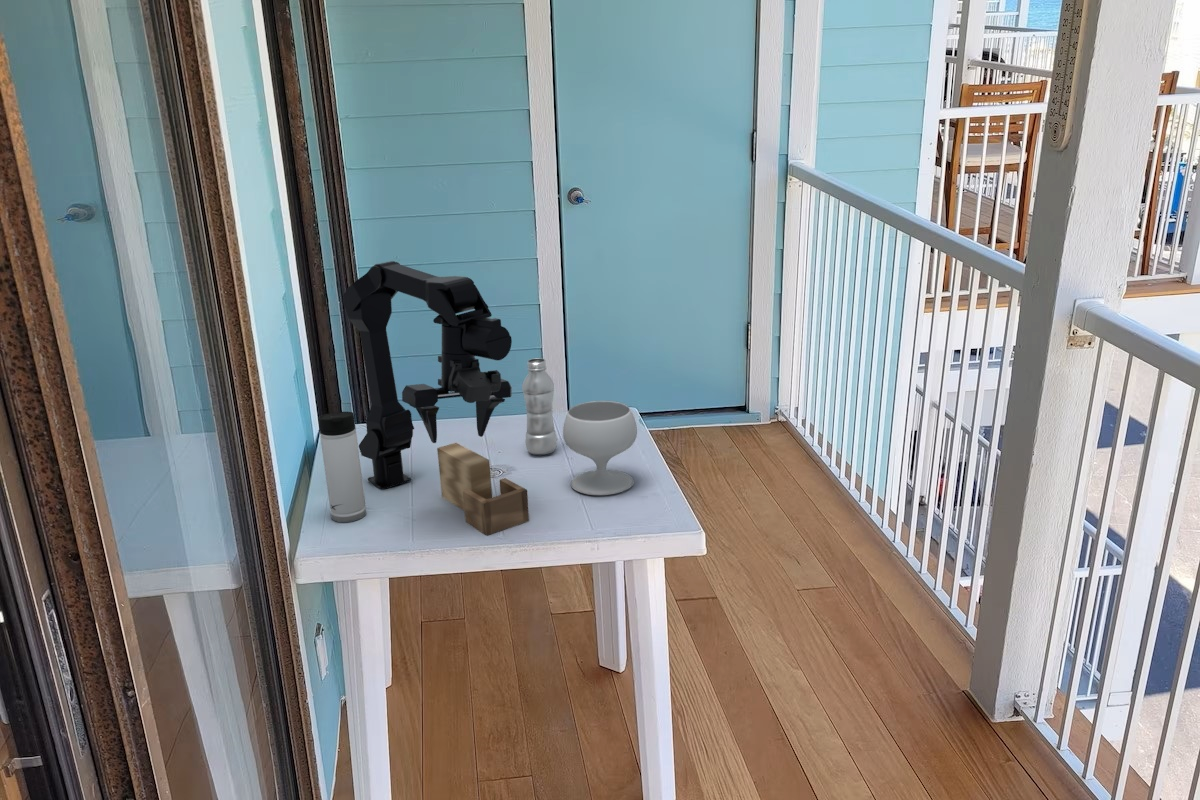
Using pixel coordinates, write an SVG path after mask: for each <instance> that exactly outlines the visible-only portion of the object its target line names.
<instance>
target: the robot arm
mask: <svg viewBox="0 0 1200 800" xmlns="http://www.w3.org/2000/svg"><path fill="white" fill-rule="evenodd" d="M398 292H400V293H402V294H404V295H408V296H411V297H414V298H417V299H419V300H422V301H424V302H425V303H426V306H427V308H428V309H430V310H432V311H433V312H434V313H436V314H438V315H437V316H435V318H433V320H432V321H433V323H434V324H439V325H441V355H438V356H437V362H439V363H441V366H440V367H441V370H440V371H441V375H440V376H441V377H440V378H438V379H437V385H438V386H440V387H433V386H430V385H427V384H425V383H418V384H409V385H405V387H404V388H403V390H402V392H401V402H403V403H405V404H407V405H409V406H410V407H412V408H414V409H416V411H417V413H418V415H419V417H420V418H421V420H422V423H423V425H424V427H425V429H426V433H427V434H428V437H429V439H430V442H431V443H432V444H436V443H437V440H438V439H437V438H438V428H437V414H438V411H439V410H440V407H439V406H437V405H436V404H437V403H438V401H439V400H441V399H449V398H458V397H461V398H462V400H463V401H464V402H466V403H469V404H472V403H473V404H474V403H475V411H476V413H475V414H476V415H475V417H476V429H477V436H478V437H484V435H485V431H486V429H487V427H488V424H489V423H490V422H489V421H490V419H491V416H492V415H493V412H494V410H495V409H496V407H497V406H498V405H499V404H501V403H504V402H505V401H506V399H507V398H511V397H512V393H513V392H512V391H513V390H512V389H513V388H512V386H511V383H510V381H509V380H507V379H506V380H505V379H503V378H502V374H501V373H500V372H499V370H497V369H496V370H488V371H481V368H480V362H479V358H484V359H488V360H493V361H502V360H503V359H505V358H506V357H507V356H508V355H509V353H510V351H511V348H512V342H513V341H512V336H511V335H510V332H509V330H508V329H507V328H506V327H504V326H502V319H500V318H496V317H494V318H491V317H492V312H491V310H490V309H489V305H488V304H487V303H486V301H485V300H484V298H483V297H482V295H481V293H480V291H479V289H478V288H477V285H475V282H474V280H473V279H472V278H470V277H468V276H461V275H459V276H457V275H453V276H450V275H449V276H437V275H433V274H430V273H428V272H425V271H421V270H419V269H416V268H412V267H408V266H407V265H403V264H400V263H399V262H398V261H394V260H390V261H385V262H380V263H376V264H374V265H372V266H371V267H370V268H369V270H368V271H367V272H366V273H365V274H363V275H362V276H361V277H359V278H358V279H356V280H355V281H354V282H353V283H352V284H351V285H350V286H347V288H346V290H345V291H344V292H343V296H342V297H343V299H342V302H343V305H344V308H345V312H346V315H347V318H348V321H350V322H351V324H352V325H353V326H354V327H355V328H356V329H357V331H358V333H359V338H360V342H361V349H362V355H363V356H362V357H363V360H364V361H363V362H364V366H365V372H366V378H367V384H368V390H369V395H370V402H371V406H370V410H369V413H368V415H367V417H366V419H365V422H366V423H365V424H366V434H365V436H364V437H363V438H362V440H361V441H360V443H358V449H359V451H360V452H359V453H360V456H361V457H364V458H366V459H370V460H371V462H372V463H371V464H372V469H373V470H372V471H373V475H372V476H369V477H367V481H368V482H369V483H371V484H373V485H374V486H375V487H377V488H379V489H380V490H385V489H387V488H392V487H394V486H395V487H396V486H399V485H401V484H405V483H408V482H411V480H412V479H411V477H410V476H409V475H406V474H405V473H404V466H403V458H402V451H405V450H406V449H410V448H411V446H412V438H413V436H414V430H415V427H414V424H413V420H412V419H413V418H412V412H411V410H410V409H405V407H404V406H403V405H402V404H401V402H400V401H399V399H398V392H397V386H396V385H397V384H396V380H395V375H394V374H395V373H394V368H393V363H392V362H393V361H392V356H391V350H390V343H389V339H388V338H389V337H388V332H387V328H388V327H387V326H388V324H389V321H390V319H391V316H392V313H393V308H392V305H393V304H392V299H393V298H394V297H395V296H396V294H398ZM476 357H479V358H476ZM505 398H506V399H505Z"/></svg>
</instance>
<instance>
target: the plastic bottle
mask: <svg viewBox="0 0 1200 800" xmlns="http://www.w3.org/2000/svg"><path fill="white" fill-rule="evenodd" d="M526 362H527V372H528V374H527V375H526V376H525V378H524V380H523V382H522V393H523V397H524V403H525V411H526V432H525V439H524V440H525V441H524V442H525V446H526V450H527V451H528V452H529V453H530V454H532V455H536V456H537V455H538V456H540V455H547V454H551V453H553V452H554V451H555V450H556V448H557V445H558V443H557V441H558V438H557V433H556V430H555V423H554V422H555V421H554V416H553V414H554V413H553V409H554V408H553V404H554V403H553V402H554V390H555V388H554V387H555V383H554V379H552V377H551V376H550V375H549V373H548V372H547V371H546V370H547V363H546V359H545V358H541V357H540V358H538V357H536V358H535V357H534V358H530V359H528V360H527V361H526Z"/></svg>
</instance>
